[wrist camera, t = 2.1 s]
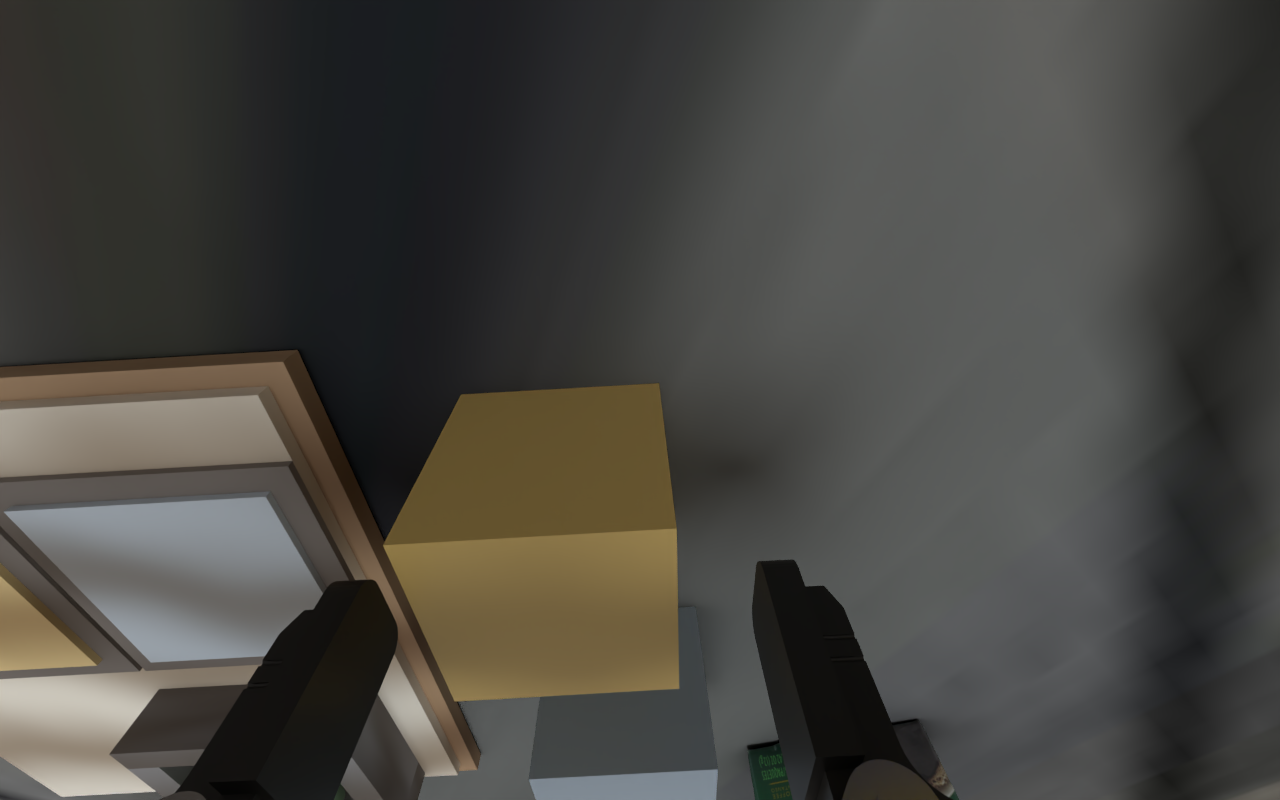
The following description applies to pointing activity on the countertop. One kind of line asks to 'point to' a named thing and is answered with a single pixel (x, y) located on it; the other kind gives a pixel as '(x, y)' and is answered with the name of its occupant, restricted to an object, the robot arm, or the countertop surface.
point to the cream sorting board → (184, 571)
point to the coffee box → (913, 739)
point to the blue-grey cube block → (630, 738)
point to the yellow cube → (545, 545)
